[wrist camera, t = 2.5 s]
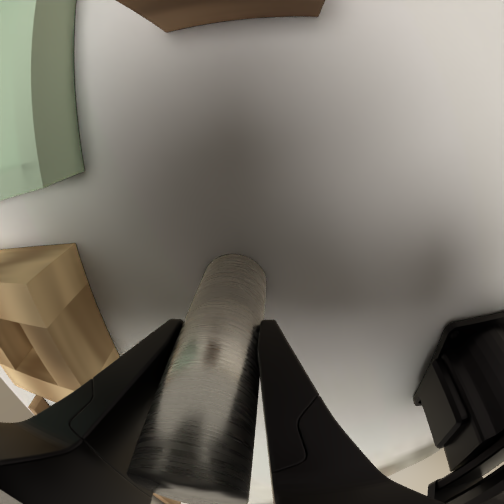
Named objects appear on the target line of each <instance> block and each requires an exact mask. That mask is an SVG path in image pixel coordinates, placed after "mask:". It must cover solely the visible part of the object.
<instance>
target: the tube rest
mask: <svg viewBox="0 0 504 504" xmlns="http://www.w3.org/2000/svg"><path fill="white" fill-rule="evenodd" d="M48 407H50V406H49V405H48V404H47V402H46V401H45V400H44V399H43V397H41V396H38V395H36V396H35V397H34V399H33V401H32V402H31V404H30V405H29V407H28V408H29V409H30V410H31V411H32V412H33V414H34V415H37V414H38V413H40V412H42V411H43V410H45V409H47V408H48ZM153 495H154V496H155V497H157V498H158V499H159V500H161V501H162V502H164V503H165V504H181V502H179V501H176V500H172V499H169V498H166V497H163V496H160V495H158V494H155V493H153Z"/></svg>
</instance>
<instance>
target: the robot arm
mask: <svg viewBox="0 0 504 504" xmlns="http://www.w3.org/2000/svg"><path fill="white" fill-rule="evenodd" d="M183 323H184V321H183V320H181V319H170V320H168V321H167V322H166V323H164V324H163V325H162V326H160V327H159V328H158V329H156V330H155V331H154V332H152V333H151V334H150V335H149V336H147V337H146V338H145V339H143V340H142V341H141V342H139V343H138V344H137V345H135V346H134V347H133V348H131V349H130V350H129V351H127V352H126V353H125V354H123V355H122V356H121V357H119V358H118V359H117V360H115V361H114V362H113V363H111V364H110V365H109V366H107V367H106V368H105V369H103V370H102V371H101V372H99V373H98V374H97V375H95V376H94V377H93V379H90V380H89V381H87V382H86V383H85V384H83V385H82V386H81V387H79V388H78V389H76V390H75V391H74V392H72V393H71V394H69V395H68V396H66V397H64V398H63V399H61V400H60V401H58V402H57V403H55V404H53V405H52V406H50V407H48V408H47V409H45V410H43V411H42V412H40V413H38V414H37V415H35V416H33V417H32V418H30V419H28V420H25V421H22V422H18V423H2V422H0V504H151V501H152V496H153V492H151V491H149V490H147V489H145V488H143V487H141V486H139V485H137V484H136V483H134V482H133V481H132V480H131V479H130V478H129V477H128V476H127V470H128V467H129V465H130V462H131V459H132V456H133V453H134V450H135V447H136V445H137V442H138V439H139V436H140V434H141V431H142V428H143V425H144V423H145V420H146V417H147V415H148V412H149V409H150V407H151V404H152V401H153V399H154V396H155V393H156V391H157V388H158V386H159V383H160V380H161V378H162V375H163V373H164V370H165V368H166V365H167V363H168V360H169V358H170V355H171V353H172V350H173V348H174V345H175V343H176V340H177V338H178V335H179V333H180V330H181V328H182V326H183ZM258 361H259V371H260V382H261V392H262V401H263V411H264V420H265V430H266V439H267V448H268V457H269V467H270V476H271V485H272V494H273V503H274V504H504V465H502V466H501V467H500V468H498V469H497V470H495V471H494V472H493V473H491V474H490V475H488V476H487V477H485V478H484V479H483V477H482V476H483V475H485V474H486V473H488V472H489V471H491V470H492V469H494V468H495V467H496V466H498V465H499V464H500V463H502V462H503V461H504V312H501V313H496V314H492V315H487V316H482V317H477V318H472V319H467V320H461V321H456V322H452V323H450V324H449V325H448V326H447V327H446V328H445V330H444V332H443V334H442V337H441V339H440V342H439V344H438V347H437V349H436V351H435V354H434V356H433V358H432V361H431V363H430V365H429V367H428V369H427V372H426V374H425V376H424V378H423V380H422V382H421V384H420V386H419V388H418V390H417V392H416V394H415V396H414V398H413V401H414V404H415V406H420V405H422V406H423V409H424V412H425V415H426V418H427V421H428V424H429V427H430V430H431V433H432V436H433V439H434V443H435V446H436V447H437V448H439V449H440V448H443V447H444V451H445V454H446V457H447V461H448V464H449V468H450V471H453V472H452V473H450V474H448V475H447V476H446V477H444V478H442V479H438V480H436V481H434V482H432V483H431V484H429V486H428V496H425V495H423V494H421V493H418V492H416V491H414V490H411V489H409V488H407V487H404V486H402V485H400V484H398V483H396V482H394V481H392V480H390V479H389V478H387V477H386V476H385V475H383V474H382V473H381V472H380V471H379V470H378V469H377V468H376V467H375V466H374V465H373V464H372V463H371V462H370V460H369V459H368V458H367V457H366V456H365V455H364V454H363V453H362V451H361V450H360V449H359V448H358V447H357V446H356V444H355V443H354V442H353V441H352V440H351V439H350V437H349V436H348V435H347V434H346V433H345V431H344V430H343V429H342V428H341V426H340V425H339V424H338V423H337V421H336V420H335V419H334V417H333V416H332V414H331V413H330V411H329V409H328V408H327V406H326V405H325V403H324V402H323V400H322V398H321V397H320V396H319V393H318V392H317V390H316V388H315V387H314V385H313V383H312V382H311V380H310V378H309V377H308V375H307V373H306V372H305V370H304V368H303V367H302V365H301V363H300V362H299V360H298V358H297V356H296V355H295V353H294V351H293V350H292V348H291V346H290V345H289V343H288V341H287V340H286V338H285V336H284V334H283V333H282V331H281V329H280V328H279V326H278V324H277V322H276V321H275V320H262V321H261V324H260V331H259V339H258ZM454 470H455V471H454Z"/></svg>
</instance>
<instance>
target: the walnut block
mask: <svg viewBox="0 0 504 504" xmlns="http://www.w3.org/2000/svg"><path fill="white" fill-rule="evenodd" d="M116 1H118V2H120V3H121V4H123V5H125V6H126V7H128V8H130V9H131V10H133V11H134V12H136V13H138V14H139V15H141V16H142V17H144V18H146V19H147V20H149V21H150V22H152V23H153V24H155V25H156V26H158V27H159V28H161V29H162V30H164V31H165V32H170V31H174V30H179V29H183V28H188V27H193V26H198V25H204V24H210V23H216V22H223V21H231V20H239V19H249V18H262V17H284V16H311V17H318V16H319V13H320V11H321V9H322V6H323V4H324V2H325V0H116Z"/></svg>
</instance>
